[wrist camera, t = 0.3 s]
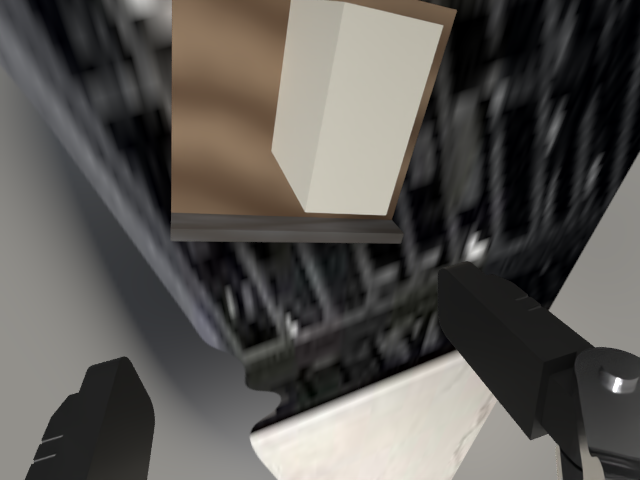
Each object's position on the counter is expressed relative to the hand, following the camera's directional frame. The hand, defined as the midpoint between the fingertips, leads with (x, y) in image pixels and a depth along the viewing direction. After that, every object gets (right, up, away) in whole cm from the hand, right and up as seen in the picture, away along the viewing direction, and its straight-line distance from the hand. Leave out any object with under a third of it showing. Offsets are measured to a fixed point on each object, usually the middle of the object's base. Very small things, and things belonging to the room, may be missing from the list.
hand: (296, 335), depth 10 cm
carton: (0, +13, +18) cm, 22 cm away
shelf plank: (-1, +12, +20) cm, 24 cm away
